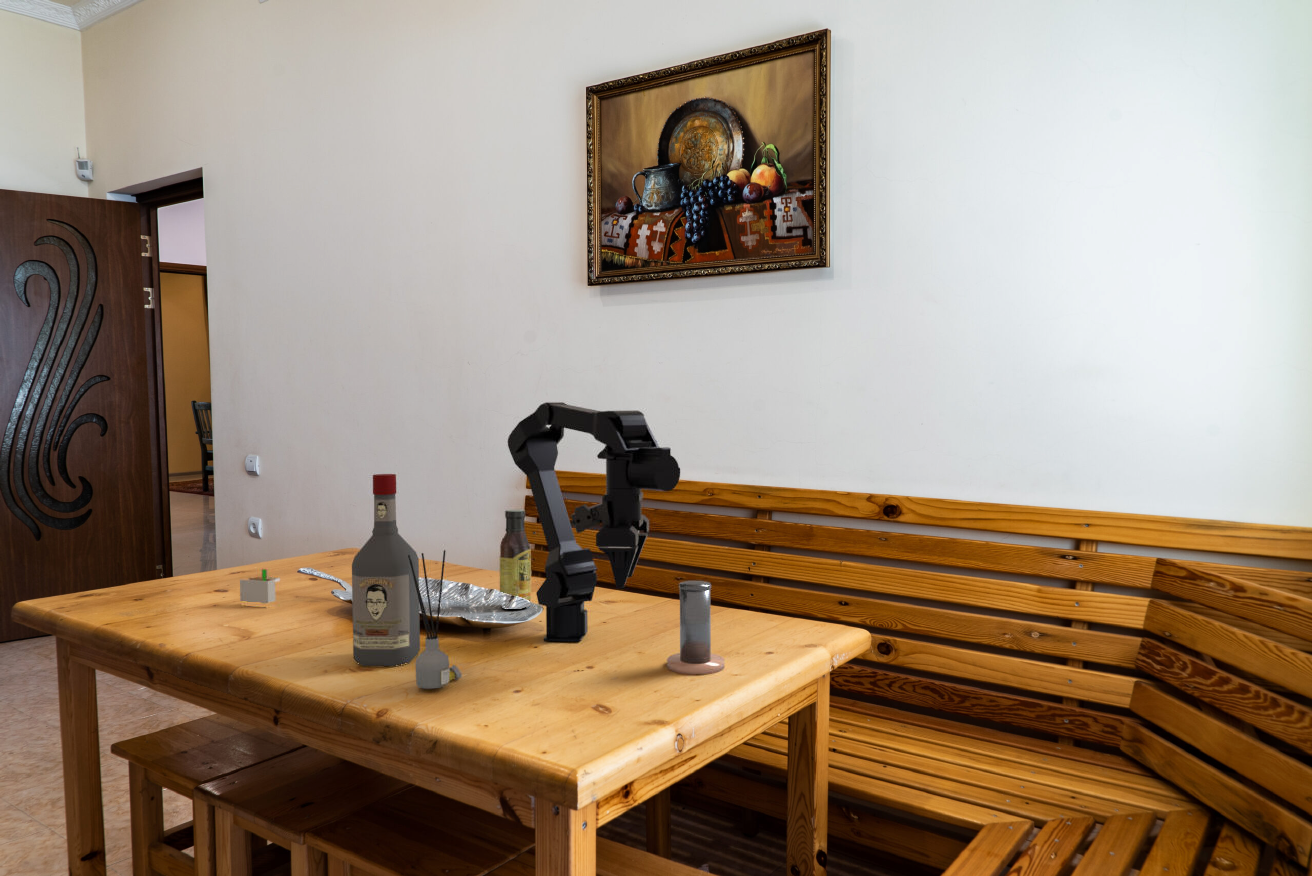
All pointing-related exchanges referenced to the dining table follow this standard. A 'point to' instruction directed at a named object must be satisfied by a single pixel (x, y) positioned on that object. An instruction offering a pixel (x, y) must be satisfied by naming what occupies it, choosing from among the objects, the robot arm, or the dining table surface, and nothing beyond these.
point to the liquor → (385, 588)
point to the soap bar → (695, 665)
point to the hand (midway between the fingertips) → (624, 582)
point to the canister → (695, 622)
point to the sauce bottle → (515, 557)
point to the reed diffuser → (432, 647)
